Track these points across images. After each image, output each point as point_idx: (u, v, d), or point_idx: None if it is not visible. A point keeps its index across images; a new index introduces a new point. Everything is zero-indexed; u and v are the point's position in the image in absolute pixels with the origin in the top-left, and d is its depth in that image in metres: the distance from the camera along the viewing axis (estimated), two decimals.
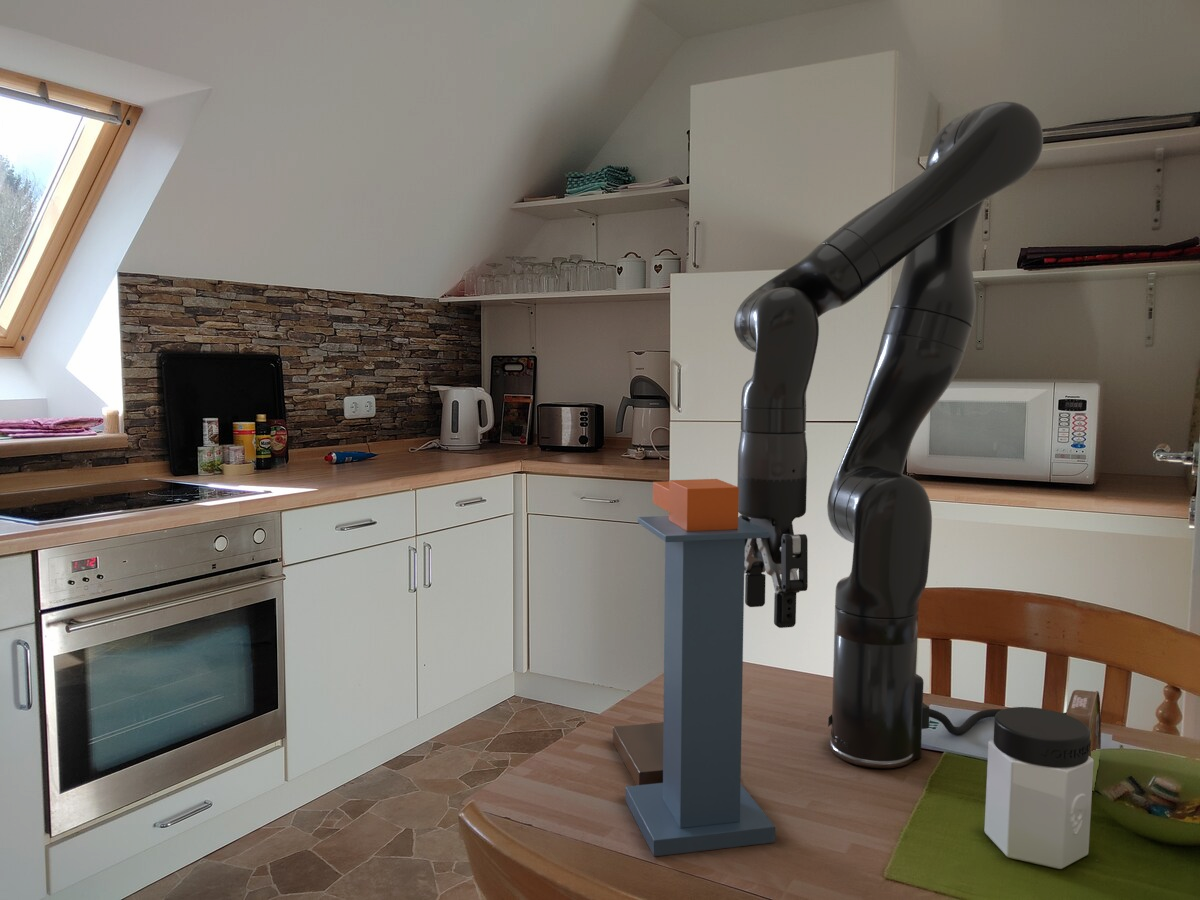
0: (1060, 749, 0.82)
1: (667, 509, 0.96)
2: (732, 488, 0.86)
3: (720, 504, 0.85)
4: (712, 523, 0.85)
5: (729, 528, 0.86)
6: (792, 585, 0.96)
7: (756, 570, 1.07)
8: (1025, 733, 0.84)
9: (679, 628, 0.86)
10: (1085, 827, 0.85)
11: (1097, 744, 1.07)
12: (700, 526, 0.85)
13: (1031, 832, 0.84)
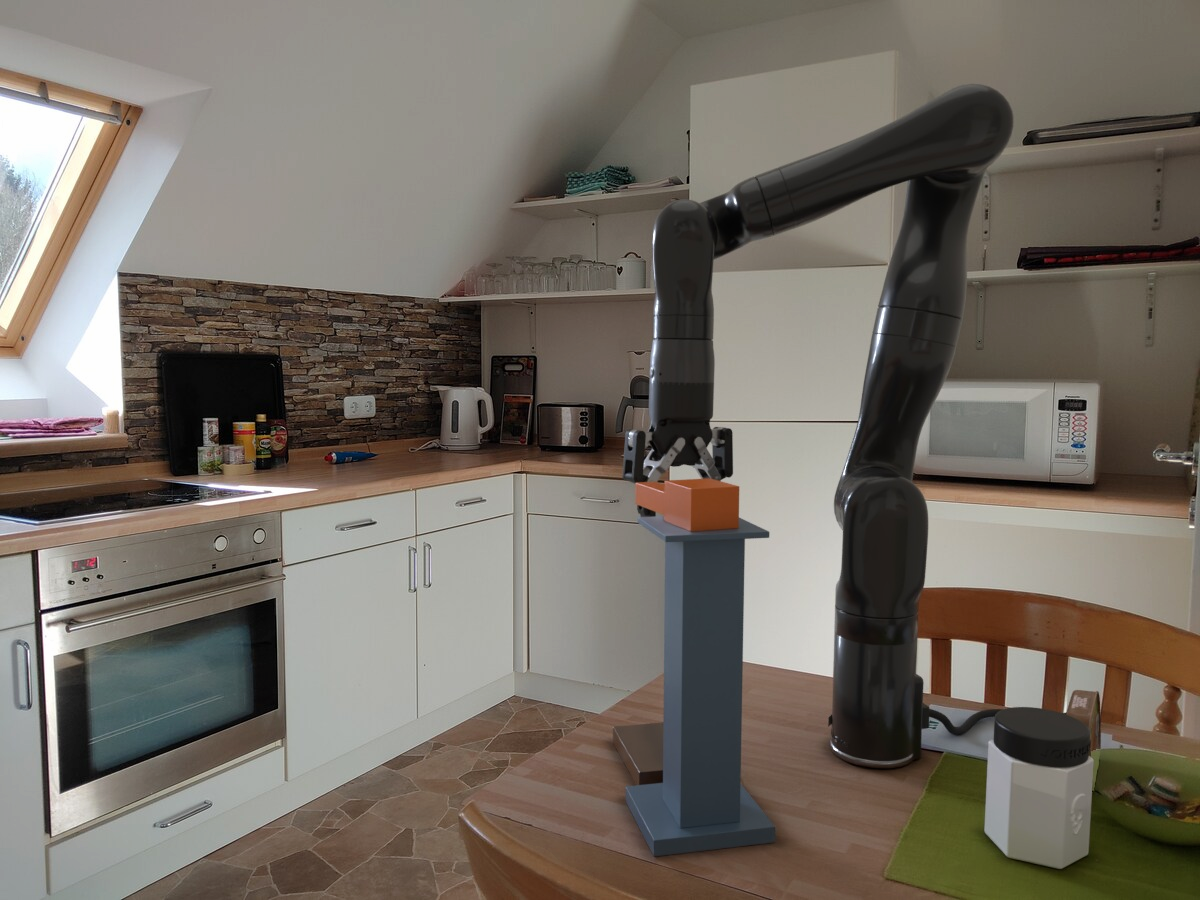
0: (1060, 749, 0.82)
1: (656, 509, 0.95)
2: (733, 487, 0.86)
3: (722, 503, 0.86)
4: (714, 522, 0.86)
5: (730, 527, 0.86)
6: (626, 475, 1.05)
7: None
8: (1025, 733, 0.84)
9: (679, 628, 0.86)
10: (1085, 827, 0.85)
11: (1097, 744, 1.07)
12: (703, 526, 0.85)
13: (1031, 832, 0.84)
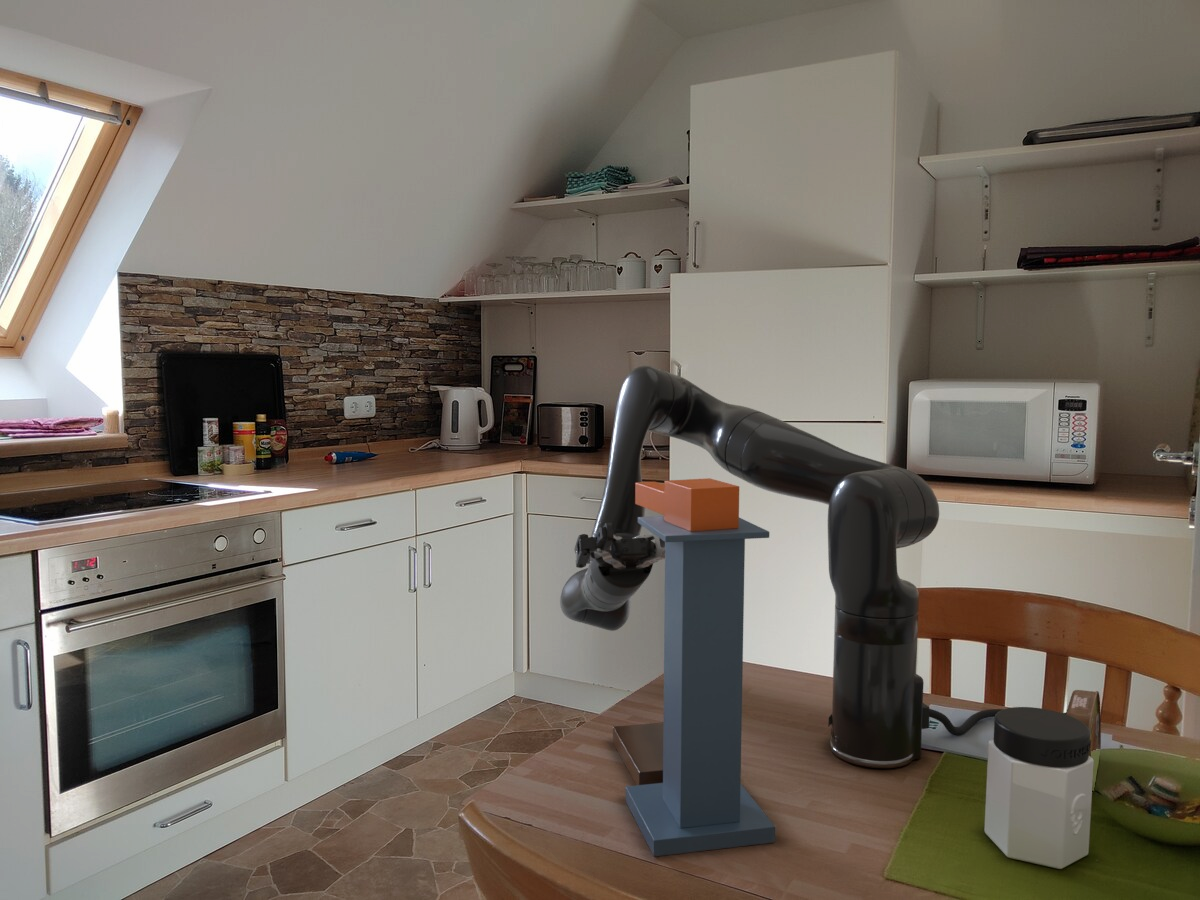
0: (1060, 749, 0.82)
1: (656, 509, 0.95)
2: (733, 487, 0.86)
3: (722, 503, 0.86)
4: (714, 522, 0.86)
5: (730, 527, 0.86)
6: (579, 549, 1.12)
7: None
8: (1025, 733, 0.84)
9: (679, 628, 0.86)
10: (1085, 827, 0.85)
11: (1097, 744, 1.07)
12: (703, 526, 0.85)
13: (1031, 832, 0.84)
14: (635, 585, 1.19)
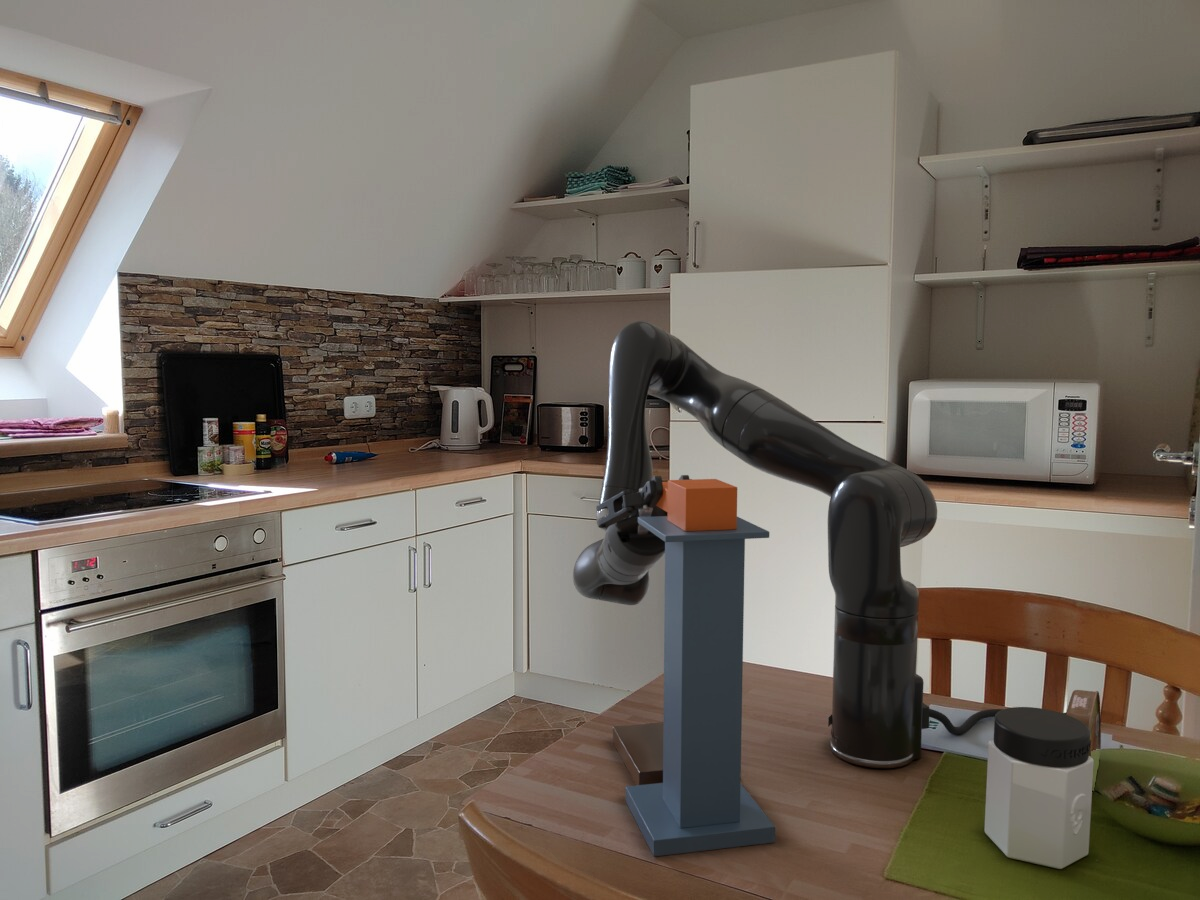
0: (1060, 749, 0.82)
1: (666, 509, 0.96)
2: (731, 488, 0.85)
3: (719, 504, 0.85)
4: (710, 523, 0.85)
5: (728, 528, 0.86)
6: (624, 506, 1.01)
7: None
8: (1025, 733, 0.84)
9: (679, 628, 0.86)
10: (1085, 827, 0.85)
11: (1097, 744, 1.07)
12: (699, 526, 0.85)
13: (1031, 832, 0.84)
14: (657, 553, 1.08)
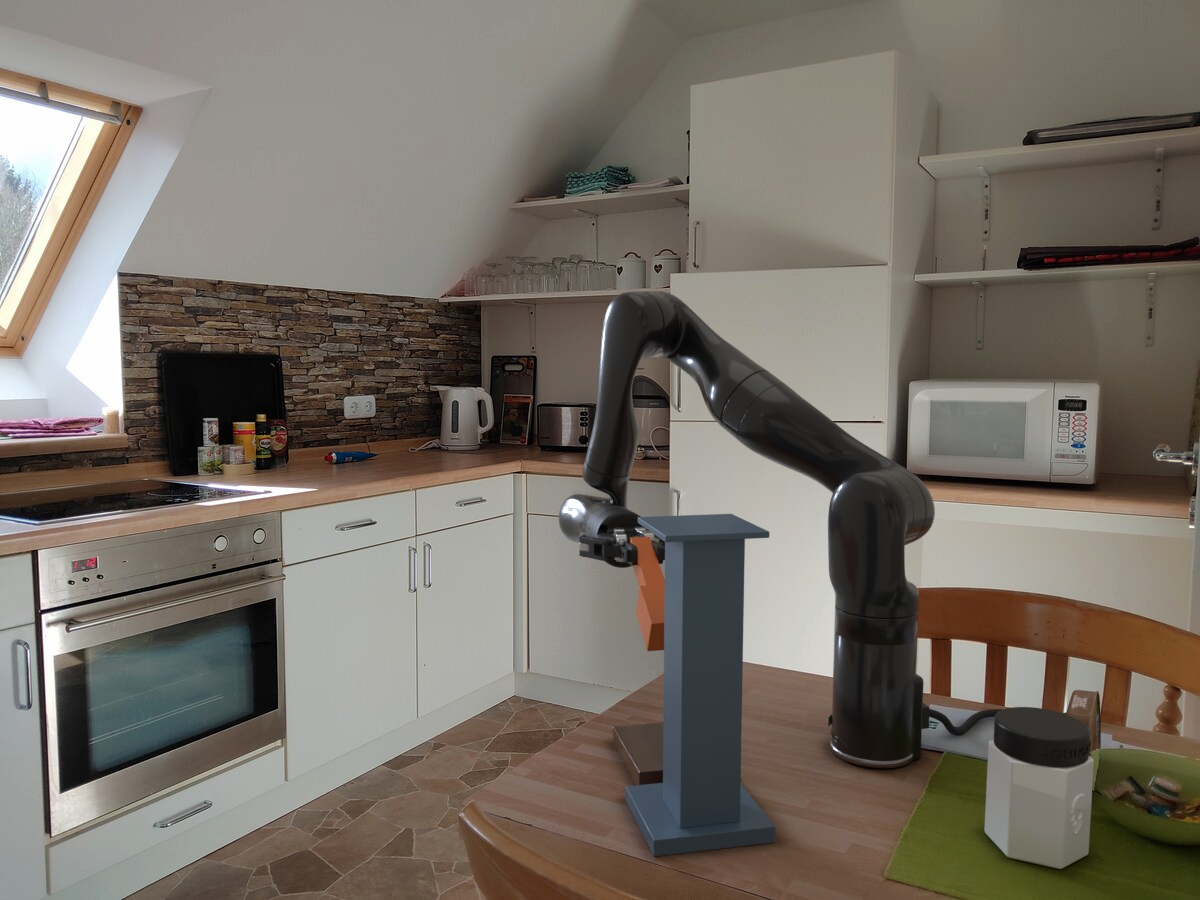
0: (1060, 749, 0.82)
1: (638, 582, 1.07)
2: None
3: None
4: None
5: None
6: (602, 554, 1.12)
7: None
8: (1025, 733, 0.84)
9: (679, 628, 0.86)
10: (1085, 827, 0.85)
11: (1097, 744, 1.07)
12: (659, 647, 0.98)
13: (1031, 832, 0.84)
14: (631, 565, 1.21)
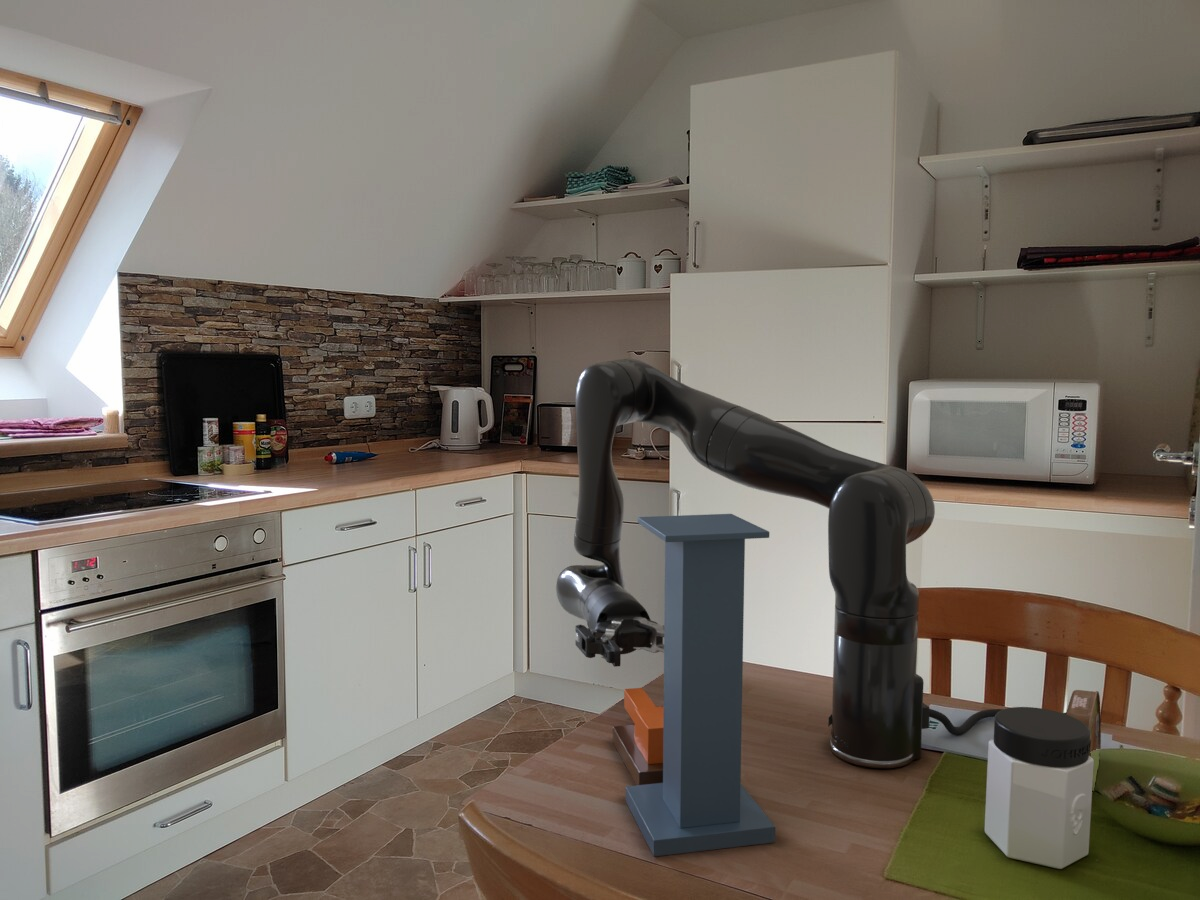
0: (1060, 749, 0.82)
1: (635, 722, 1.11)
2: None
3: None
4: None
5: None
6: (585, 650, 1.13)
7: None
8: (1025, 733, 0.84)
9: (679, 628, 0.86)
10: (1085, 827, 0.85)
11: (1097, 744, 1.07)
12: (659, 759, 1.00)
13: (1031, 832, 0.84)
14: (630, 652, 1.22)
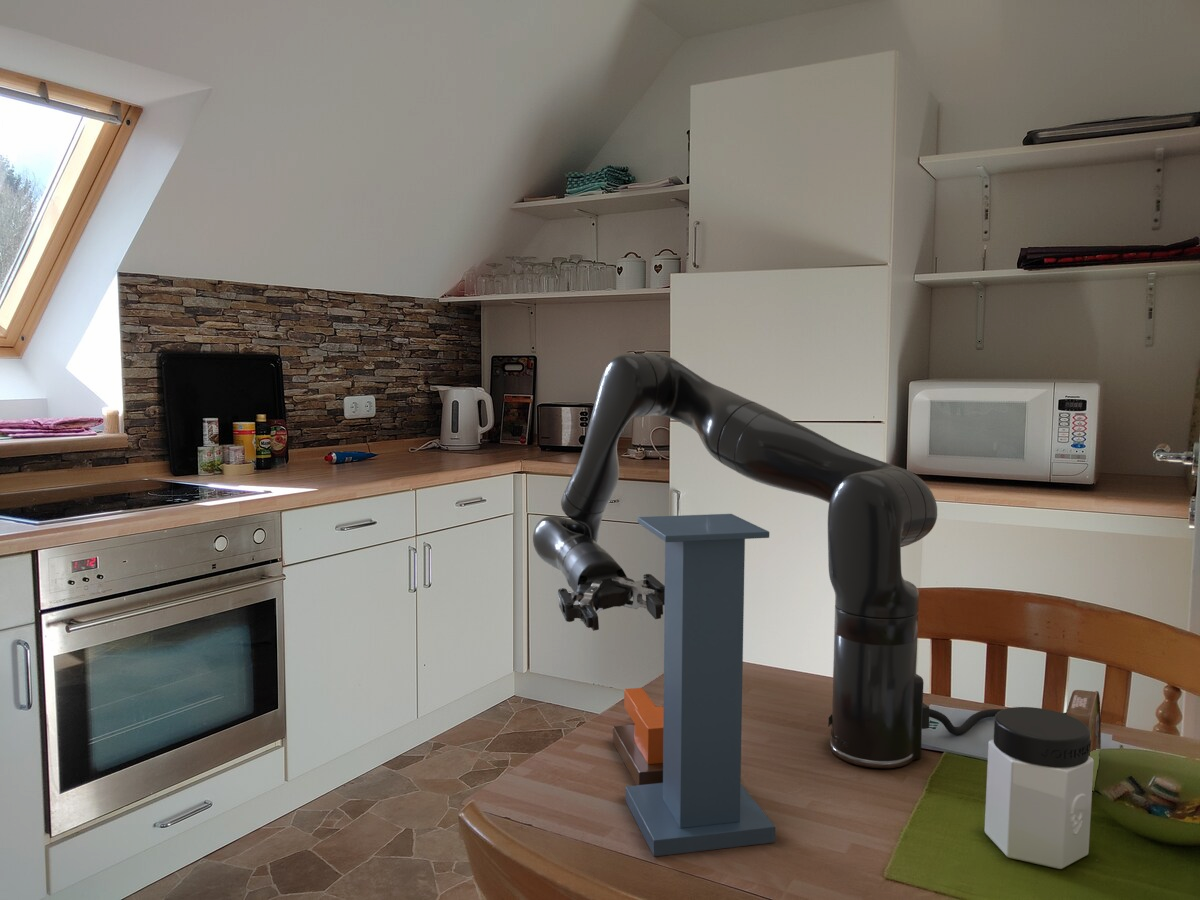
0: (1060, 749, 0.82)
1: (635, 722, 1.11)
2: None
3: None
4: None
5: None
6: (565, 615, 1.23)
7: (646, 600, 1.25)
8: (1025, 733, 0.84)
9: (679, 628, 0.86)
10: (1085, 827, 0.85)
11: (1097, 744, 1.07)
12: (659, 759, 1.00)
13: (1031, 832, 0.84)
14: None
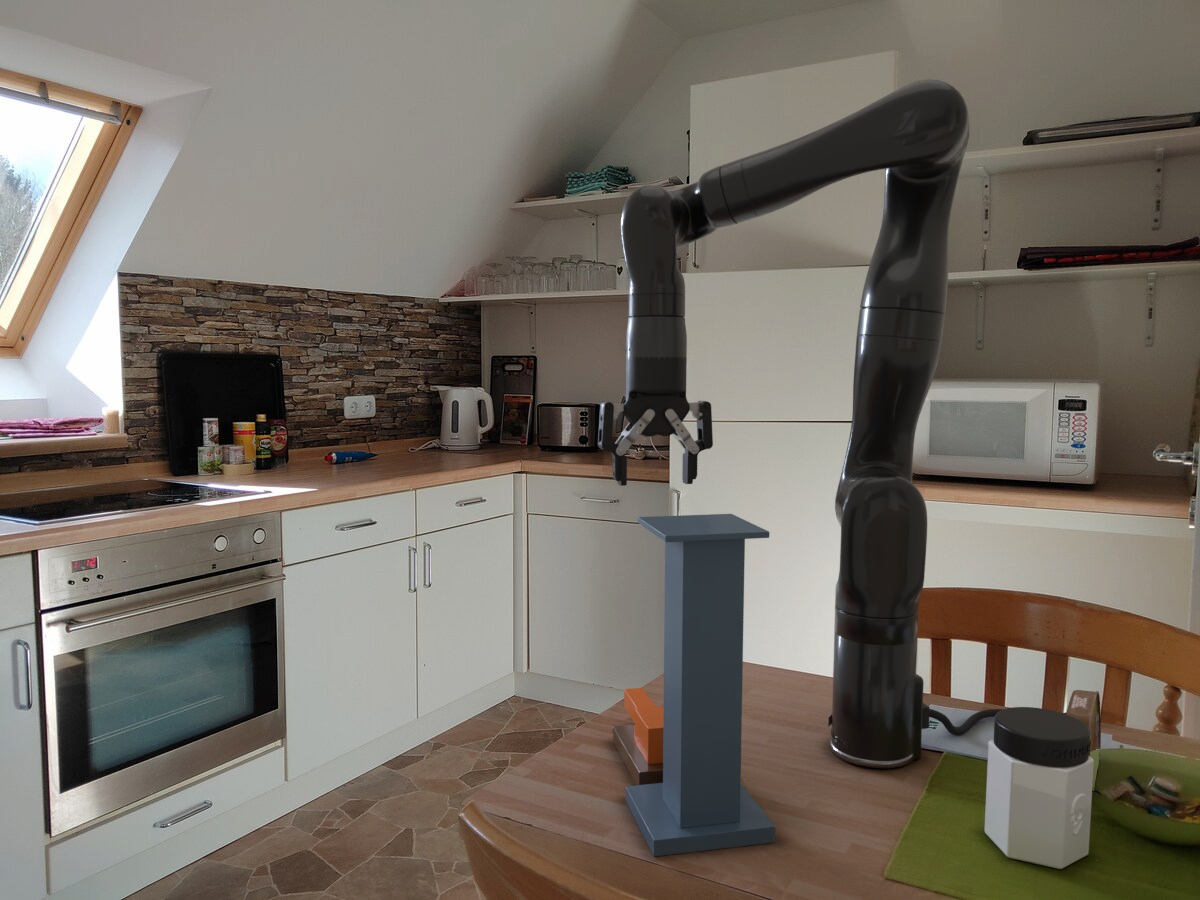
0: (1060, 749, 0.82)
1: (635, 722, 1.11)
2: None
3: None
4: None
5: None
6: (599, 443, 1.14)
7: (686, 450, 1.16)
8: (1025, 733, 0.84)
9: (679, 628, 0.86)
10: (1085, 827, 0.85)
11: (1097, 744, 1.07)
12: (659, 759, 1.00)
13: (1031, 832, 0.84)
14: None
